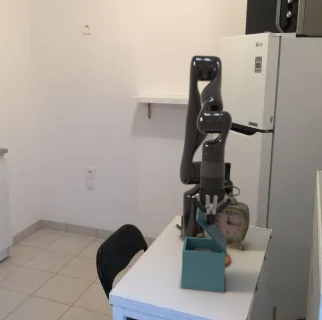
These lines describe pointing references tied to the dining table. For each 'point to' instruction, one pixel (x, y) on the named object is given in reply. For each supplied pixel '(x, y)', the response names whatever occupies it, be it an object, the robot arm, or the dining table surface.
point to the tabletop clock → (233, 219)
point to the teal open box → (203, 265)
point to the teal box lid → (211, 230)
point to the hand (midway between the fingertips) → (210, 224)
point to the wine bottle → (228, 179)
